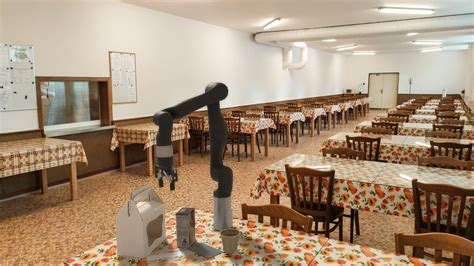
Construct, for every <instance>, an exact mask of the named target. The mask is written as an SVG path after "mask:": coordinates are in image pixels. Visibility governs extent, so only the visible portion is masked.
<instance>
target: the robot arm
mask: <svg viewBox="0 0 474 266" xmlns="http://www.w3.org/2000/svg"><path fill="white" fill-rule="evenodd" d="M228 96H229V87H228V86H227V85H226V84H225V83H223V82H213V81H212V82H209V83H208V84H207V85H206V86H205V87H204V92H203V93H201V94H198V95H195V96H192V97H189V98H185V99H183V100H181V101H179V102H177V103H175V104H174V105H172V106H169V107H165V108H163V109H160V110H159V111H157V112H155V113H154V114H153V116H152V123H153V125H155V126H156V127H158V133H156V134H155V143H156V147H155V148H156V149H155V152H156V153H155V154H156V155H155V156H156V165H154V178H156V179H157V181H158V188H159V189H162V188H164V177H165V178H166V180H168V181H169V190H170V192H173V191H175V190H176V183H177V182H179V178H178V177H179V176H178V169H177V168H173V165H174V164H175V163H174V148H173V139H172V136H173V135H172V134H173V129H174V121H176V120H181V119H182V118H183V119H184V118H185V117H187V116H189V115H190V114H192V113H195V111H198V110H200V109H203V108H204V107H206V109H207V121H208V123H207V124H208V135H209V136H208V139H209V152H210V153H209V155H210V161H209V163H210V164H209V175H210V178H211V180H212V181H213V182H216V183H217V188H215V189H214V190H213V195H212V198H213V199H212V202H213V205H212V206H213V207H212V209H213V229H214V230H216V231H218V232H220V231H221V230H224V229H232V228H233V227H234V226H233V215H234V214H233V211H234V210H233V208H232V192H233V188H234V172H233V170H232V169H233V168H231V167H230V166H228V165H225V164H224V161H223V155H224V150H225V147H226V146H227V143H228V127H227V124H226V121H225V118H224V117H223V114H222V109H221V101H224V100H226V99H227V97H228Z"/></svg>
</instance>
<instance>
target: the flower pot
mask: <svg viewBox="0 0 474 266" xmlns="http://www.w3.org/2000/svg"><path fill="white" fill-rule="evenodd" d="M219 236H220V238H221V244H222V248H223V250H222V251H223V253H225V254H230V255H231V254H235V253H237V251H238V247H239V238H240V236H241V231H240V230H239V229H236V228H231V229H224V230H221V231H219Z"/></svg>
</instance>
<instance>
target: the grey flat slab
mask: <svg viewBox="0 0 474 266" xmlns="http://www.w3.org/2000/svg"><path fill="white" fill-rule="evenodd" d="M186 250H187V251H189V252H192V253H194V254H196V255H199V256H200V257H203V258H205V259H207V260H209V259H211V258H213V257H216V256H218V255H220V254H222V253H224V251H223V250H221V249H218V248H216V247H214V246H212V245H209V244H206V243H204V242H202V241H201V242H198V243H196V244H194V245H193V244H192V245H191V246H190V247H186Z"/></svg>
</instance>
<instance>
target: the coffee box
mask: <svg viewBox="0 0 474 266" xmlns="http://www.w3.org/2000/svg"><path fill="white" fill-rule="evenodd" d="M175 227H176V228H175V229H176V232H175V233H176V247H178V248H189V247H191V246H193V243H194V242H195V241H196V240H197V239H196V208H195V207H181V208H180V209H179V210H178V211H177V212H176V213H175Z"/></svg>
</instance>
